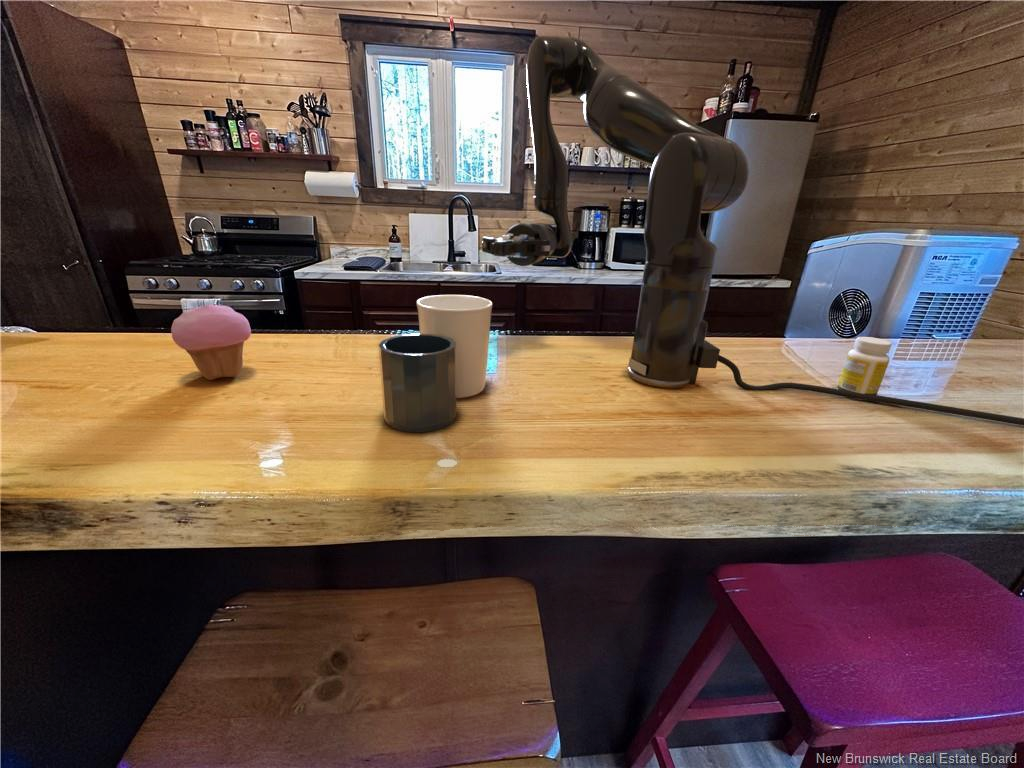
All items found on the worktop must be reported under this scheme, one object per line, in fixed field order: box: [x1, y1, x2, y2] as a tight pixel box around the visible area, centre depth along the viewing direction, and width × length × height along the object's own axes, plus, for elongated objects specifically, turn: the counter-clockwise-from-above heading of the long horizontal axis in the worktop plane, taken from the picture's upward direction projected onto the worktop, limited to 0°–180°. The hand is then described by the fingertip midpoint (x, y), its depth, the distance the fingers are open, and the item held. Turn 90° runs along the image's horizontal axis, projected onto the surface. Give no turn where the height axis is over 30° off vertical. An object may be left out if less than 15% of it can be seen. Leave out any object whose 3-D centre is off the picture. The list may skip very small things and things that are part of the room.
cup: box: [378, 333, 458, 433], centre depth 51 cm, size 8×8×9 cm
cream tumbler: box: [416, 294, 494, 399], centre depth 59 cm, size 10×10×12 cm
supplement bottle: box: [836, 336, 893, 401], centre depth 63 cm, size 5×5×8 cm
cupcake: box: [170, 304, 252, 381], centre depth 59 cm, size 9×9×10 cm
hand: (498, 249), depth 68 cm, fingers closed
